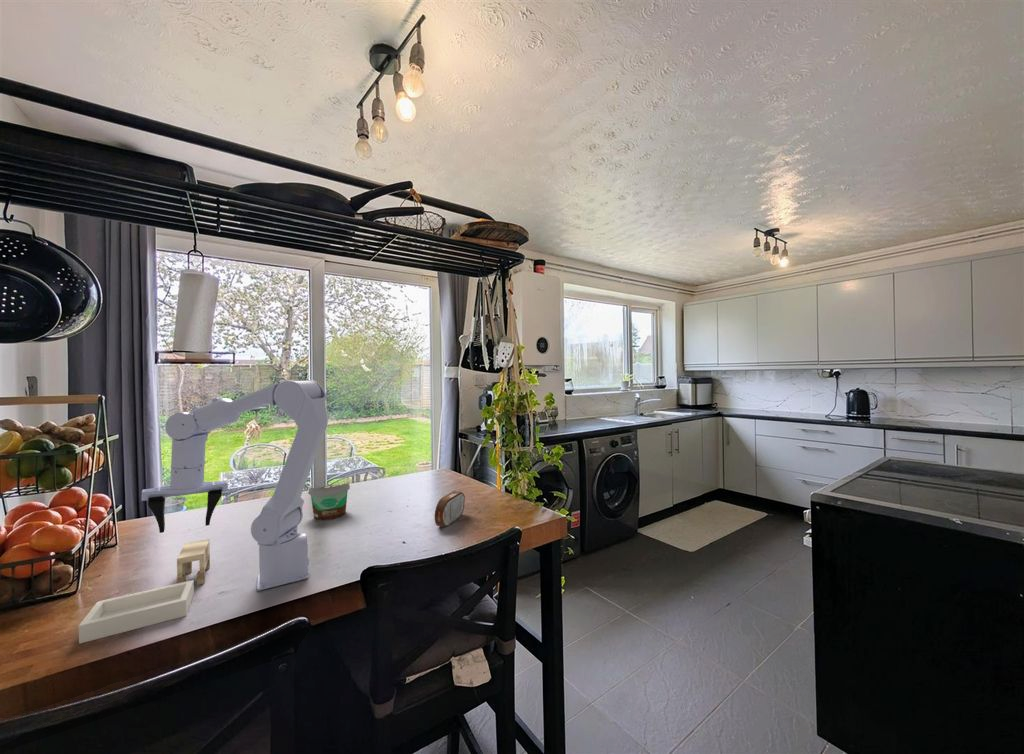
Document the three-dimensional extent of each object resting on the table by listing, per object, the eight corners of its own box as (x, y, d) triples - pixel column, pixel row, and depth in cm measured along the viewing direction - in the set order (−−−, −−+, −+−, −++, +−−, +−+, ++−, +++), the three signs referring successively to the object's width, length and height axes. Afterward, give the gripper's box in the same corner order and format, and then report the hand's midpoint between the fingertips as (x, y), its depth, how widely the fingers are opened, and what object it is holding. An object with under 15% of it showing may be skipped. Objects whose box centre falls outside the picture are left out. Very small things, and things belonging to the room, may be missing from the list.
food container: (312, 524, 118) (311, 491, 118) (308, 518, 123) (308, 487, 123) (354, 515, 125) (354, 484, 125) (349, 510, 130) (349, 480, 130)
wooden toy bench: (185, 571, 90) (184, 543, 90) (209, 566, 92) (209, 539, 92) (177, 589, 82) (176, 558, 82) (204, 583, 85) (203, 553, 84)
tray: (193, 594, 80) (193, 579, 80) (186, 615, 73) (186, 599, 73) (97, 617, 73) (97, 601, 73) (79, 643, 66) (78, 625, 66)
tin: (457, 513, 126) (457, 487, 126) (466, 514, 125) (466, 487, 125) (433, 530, 112) (433, 501, 112) (443, 532, 111) (442, 502, 111)
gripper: (227, 459, 94) (225, 515, 94) (145, 465, 85) (142, 528, 85) (229, 465, 88) (226, 525, 88) (141, 472, 79) (138, 539, 79)
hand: (185, 527), depth 86 cm, fingers open, 7 cm apart
